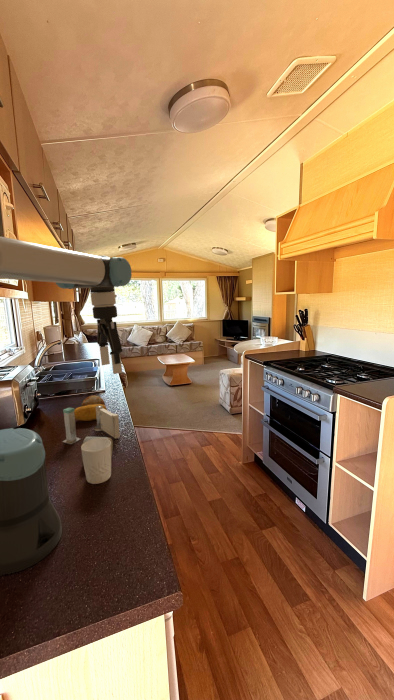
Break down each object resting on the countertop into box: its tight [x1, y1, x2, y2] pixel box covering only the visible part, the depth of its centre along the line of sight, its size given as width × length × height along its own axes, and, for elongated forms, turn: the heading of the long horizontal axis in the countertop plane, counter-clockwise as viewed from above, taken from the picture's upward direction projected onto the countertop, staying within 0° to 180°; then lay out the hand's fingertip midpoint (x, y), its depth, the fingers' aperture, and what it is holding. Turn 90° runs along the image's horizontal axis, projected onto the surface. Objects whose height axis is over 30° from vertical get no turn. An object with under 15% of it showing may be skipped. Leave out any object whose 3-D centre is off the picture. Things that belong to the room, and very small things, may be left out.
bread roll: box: [81, 395, 106, 407], centre depth 139 cm, size 10×10×8 cm
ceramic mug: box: [81, 435, 114, 461], centre depth 96 cm, size 11×8×8 cm
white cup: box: [80, 438, 112, 485], centre depth 85 cm, size 8×8×10 cm
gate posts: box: [62, 405, 104, 445], centre depth 112 cm, size 18×5×12 cm, turn 144°
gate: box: [100, 408, 121, 440], centre depth 111 cm, size 12×2×9 cm, turn 43°
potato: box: [74, 404, 108, 422], centre depth 126 cm, size 8×14×7 cm, turn 108°
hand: (111, 368), depth 102 cm, fingers open, 13 cm apart
